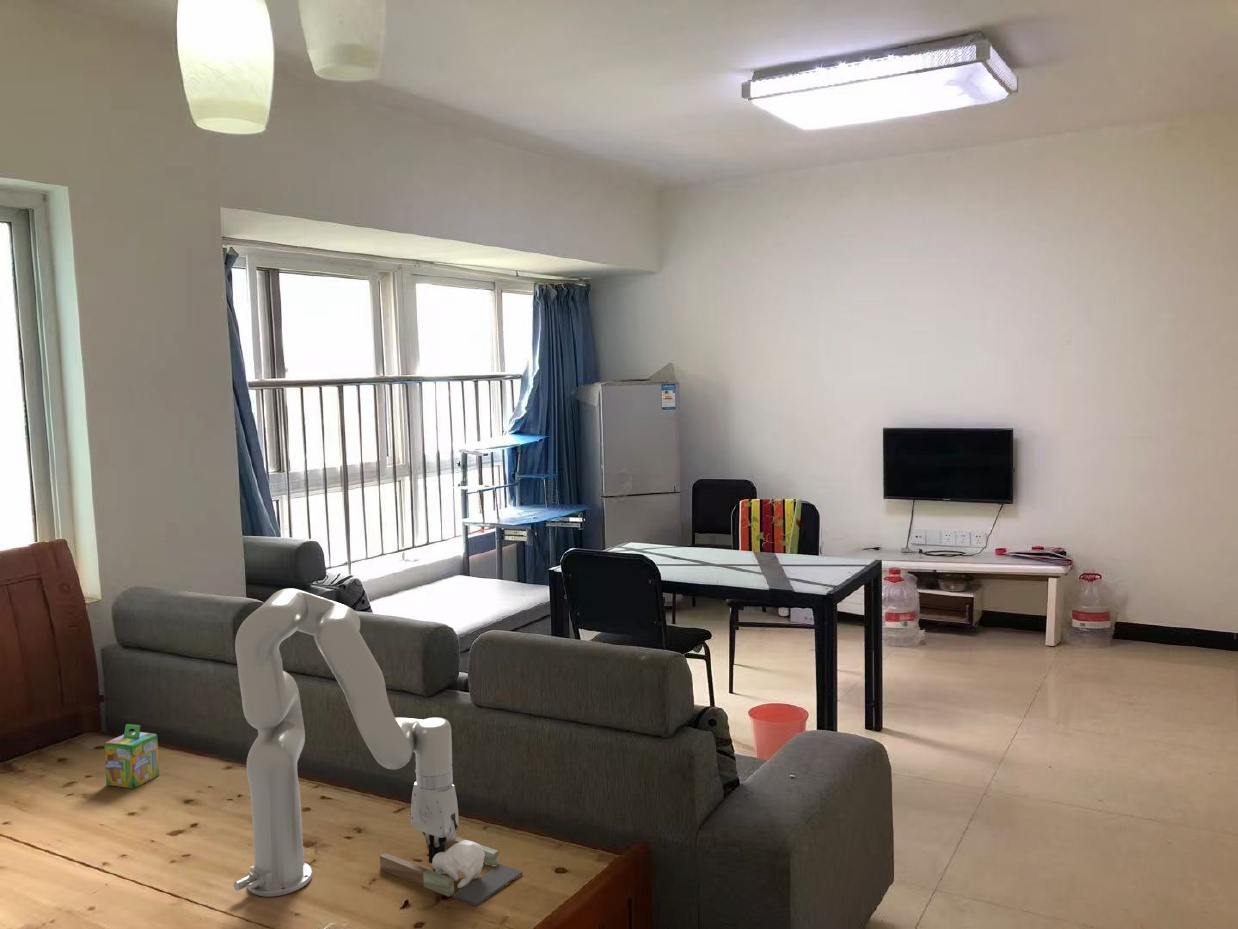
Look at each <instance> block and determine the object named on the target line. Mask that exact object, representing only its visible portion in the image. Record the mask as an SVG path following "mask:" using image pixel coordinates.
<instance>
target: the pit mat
mask: <svg viewBox="0 0 1238 929" xmlns="http://www.w3.org/2000/svg"><path fill="white" fill-rule="evenodd" d="M522 873H523V871H521V870H519V869H516V868H513V867H510V866H507V865H504V864H502V863H499V865H497V866H496V867H493V868H492V869H490V870H489V871H488V872H486V873H484V874H482V876H480V877H478V878H476V879H474V880H473V881H472V882H470V883H469V884H468V885H467V886H465V887H463V888H460V889H459V890H458V891H457V892H454V894H453V897H454V898H455V899H458V900H461V901H463V902H465V903H468V904H471V905H473V906H476V907H477V906H478V905H480V904H481V903H483V902H484V901H486V900H487V899H489V898H491V897H492V896H493V895H495V894H496V893H498V892H499V891H500V889H501V890H502V889H504V888H505V887H506V886H507V885H506V884H507V883H509V882H511V881H512V880H513V879H514V878H516V877H518V876H519V875H521V874H522ZM521 876H522V875H521ZM518 878H519V877H518ZM512 882H513V881H512ZM512 882H511V883H512ZM509 884H510V883H509ZM505 885H506V886H505ZM504 886H505V887H504ZM497 891H498V892H497Z"/></svg>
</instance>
